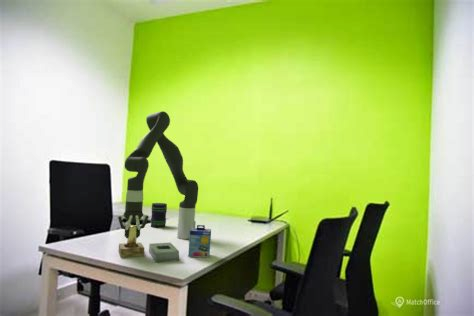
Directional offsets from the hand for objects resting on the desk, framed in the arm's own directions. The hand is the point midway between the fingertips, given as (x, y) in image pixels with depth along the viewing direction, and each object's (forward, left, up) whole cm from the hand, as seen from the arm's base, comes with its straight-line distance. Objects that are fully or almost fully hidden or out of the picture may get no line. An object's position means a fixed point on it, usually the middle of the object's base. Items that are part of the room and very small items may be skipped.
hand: (132, 237), depth 144 cm
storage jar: (-24, -60, -7) cm, 65 cm away
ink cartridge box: (-29, +11, -7) cm, 32 cm away
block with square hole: (-13, +8, -7) cm, 17 cm away
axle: (0, 0, -5) cm, 5 cm away
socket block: (0, 0, -7) cm, 7 cm away
